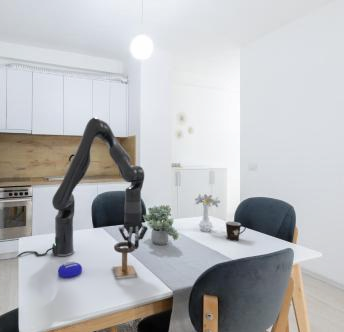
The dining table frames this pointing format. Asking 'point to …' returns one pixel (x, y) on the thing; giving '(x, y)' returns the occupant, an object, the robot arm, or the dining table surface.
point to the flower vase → (206, 211)
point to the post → (124, 268)
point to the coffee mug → (233, 230)
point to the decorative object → (69, 269)
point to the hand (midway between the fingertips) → (132, 248)
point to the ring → (124, 250)
